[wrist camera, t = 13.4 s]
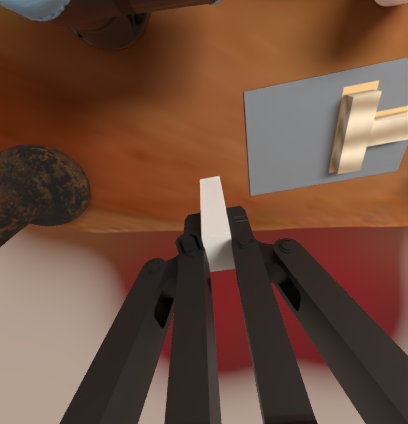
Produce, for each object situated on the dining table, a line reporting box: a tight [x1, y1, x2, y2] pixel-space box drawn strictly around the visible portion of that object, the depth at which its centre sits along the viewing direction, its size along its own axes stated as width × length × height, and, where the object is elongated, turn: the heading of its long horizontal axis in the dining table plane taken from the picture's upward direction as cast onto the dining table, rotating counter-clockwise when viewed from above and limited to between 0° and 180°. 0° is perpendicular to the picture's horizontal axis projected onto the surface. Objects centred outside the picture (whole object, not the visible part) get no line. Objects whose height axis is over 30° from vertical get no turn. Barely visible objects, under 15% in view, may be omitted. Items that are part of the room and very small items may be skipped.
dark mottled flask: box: [0, 145, 90, 247], centre depth 39 cm, size 18×18×28 cm
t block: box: [331, 89, 408, 174], centre depth 44 cm, size 16×15×3 cm
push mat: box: [244, 57, 408, 196], centre depth 46 cm, size 24×36×1 cm, turn 100°
